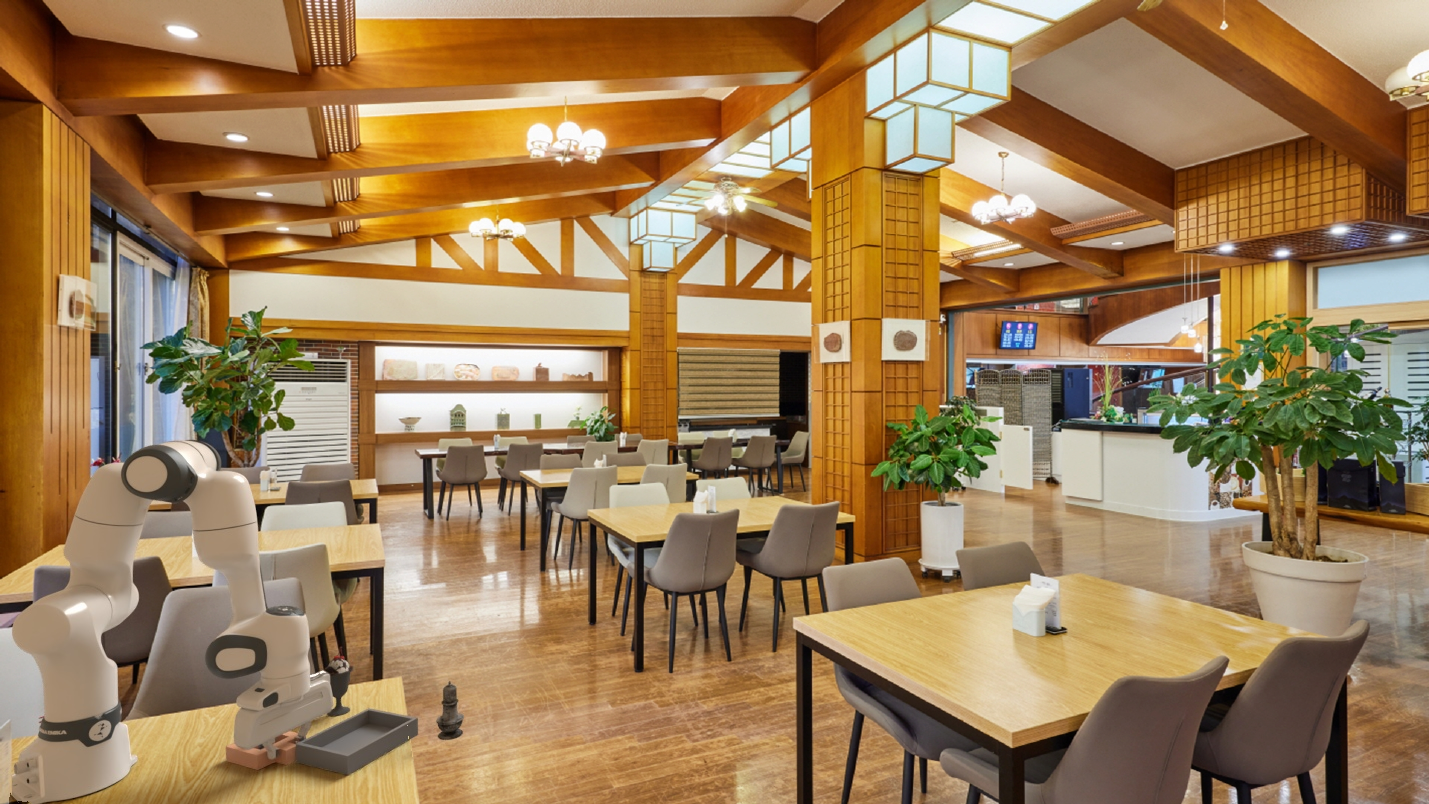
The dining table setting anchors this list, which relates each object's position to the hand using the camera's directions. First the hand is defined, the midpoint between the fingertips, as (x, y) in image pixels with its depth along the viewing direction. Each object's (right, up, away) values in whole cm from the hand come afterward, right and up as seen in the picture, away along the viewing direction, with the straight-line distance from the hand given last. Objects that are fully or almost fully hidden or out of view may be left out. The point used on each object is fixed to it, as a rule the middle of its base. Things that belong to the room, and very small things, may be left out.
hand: (287, 751), depth 153 cm
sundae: (-1, -2, +23) cm, 23 cm away
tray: (+13, -2, +4) cm, 14 cm away
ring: (-4, -2, +1) cm, 5 cm away
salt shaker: (+30, -2, +10) cm, 32 cm away
